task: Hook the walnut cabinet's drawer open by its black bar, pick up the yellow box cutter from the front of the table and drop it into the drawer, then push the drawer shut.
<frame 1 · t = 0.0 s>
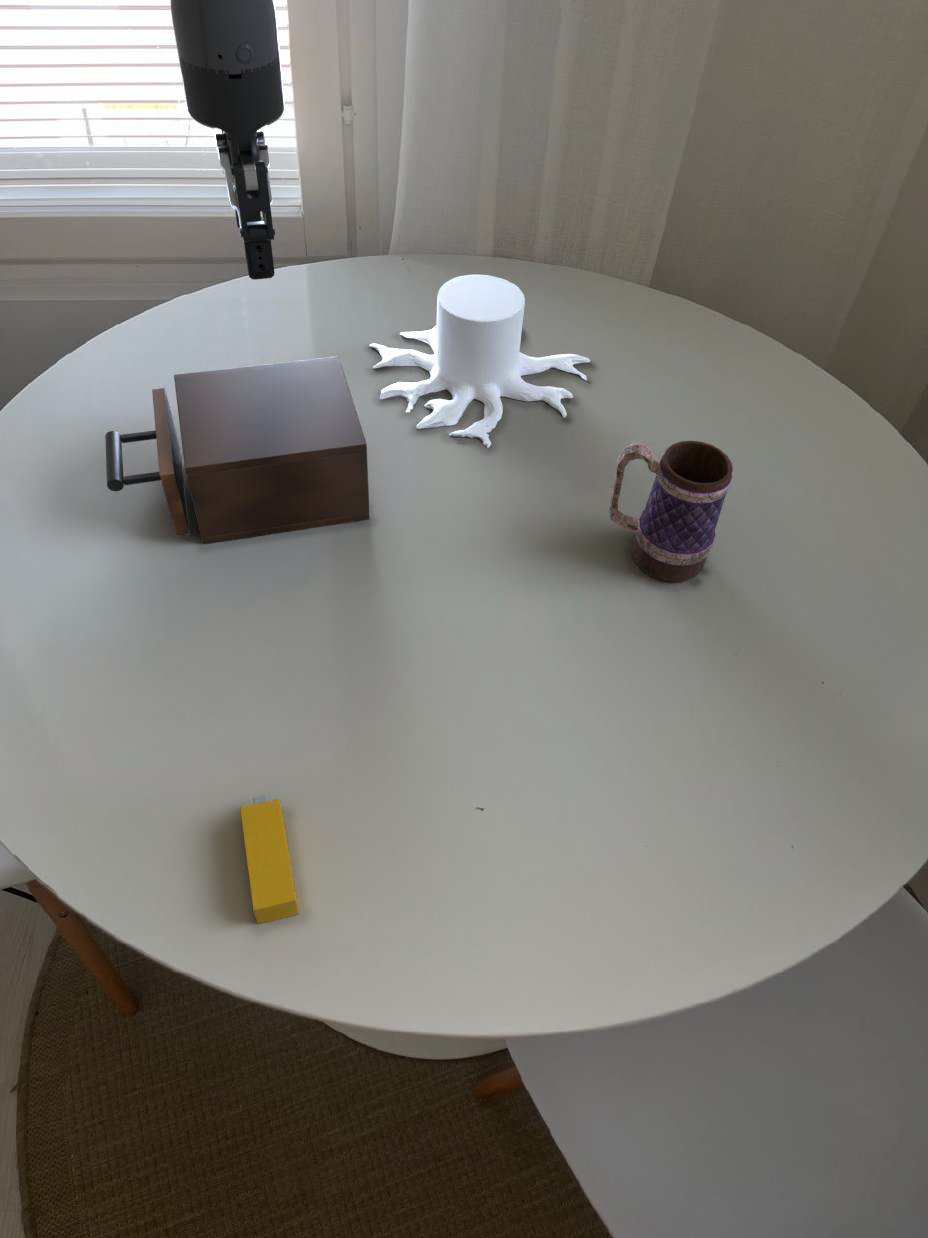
hand: (255, 251, 80), 19 cm above the table, tool pointing down, fingers open, 8 cm apart
drawer: (216, 455, 85), point 5 cm above the table, slide at 1.0 cm
white tree stump: (481, 374, 104), on the table
mug: (650, 554, 86), on the table
box cutter: (270, 867, 64), on the table
cabinet: (278, 484, 90), on the table
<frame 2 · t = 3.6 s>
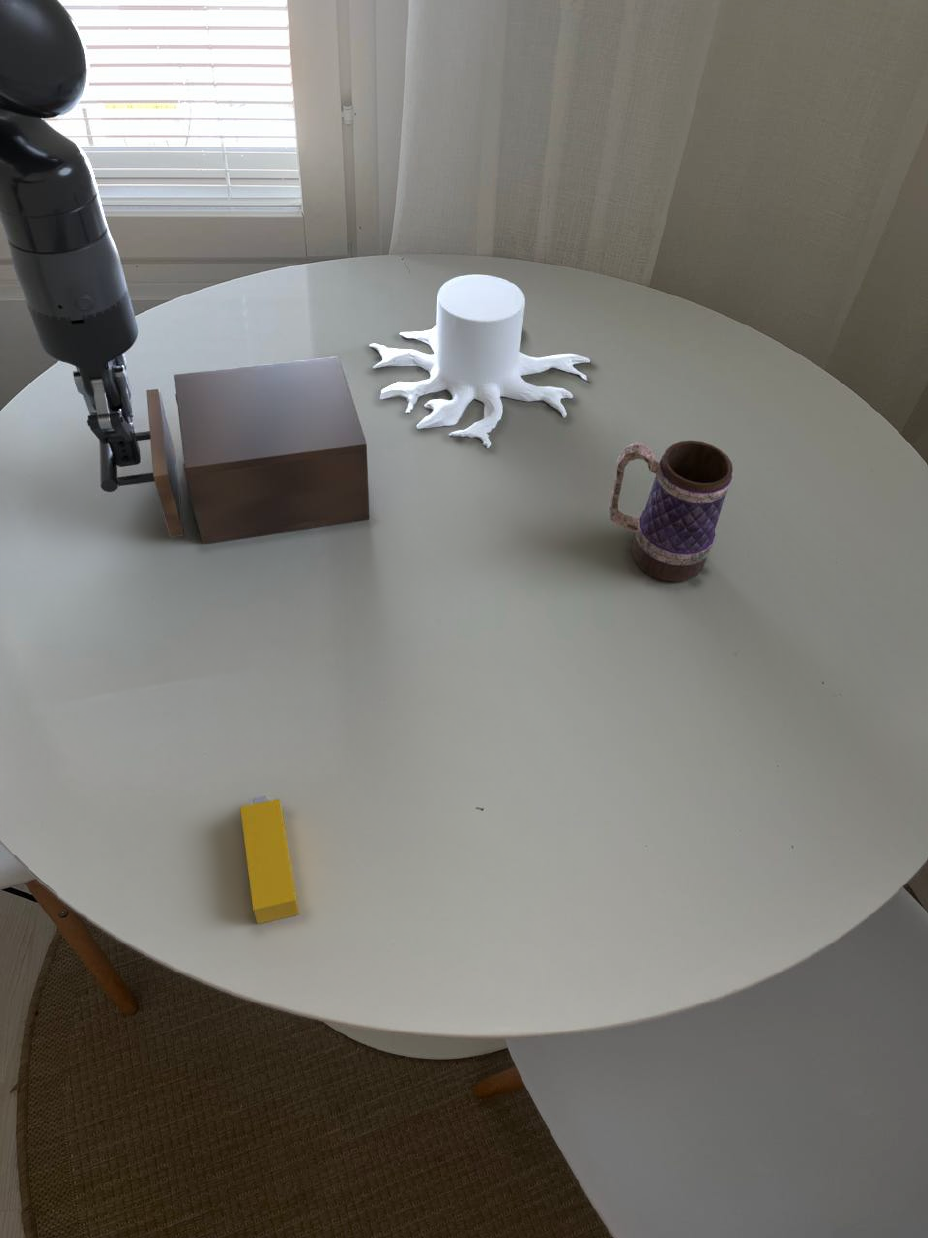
hand: (129, 460, 83), 5 cm above the table, tool pointing down, fingers closed
drawer: (211, 455, 85), point 5 cm above the table, slide at 1.5 cm
everything else where it was.
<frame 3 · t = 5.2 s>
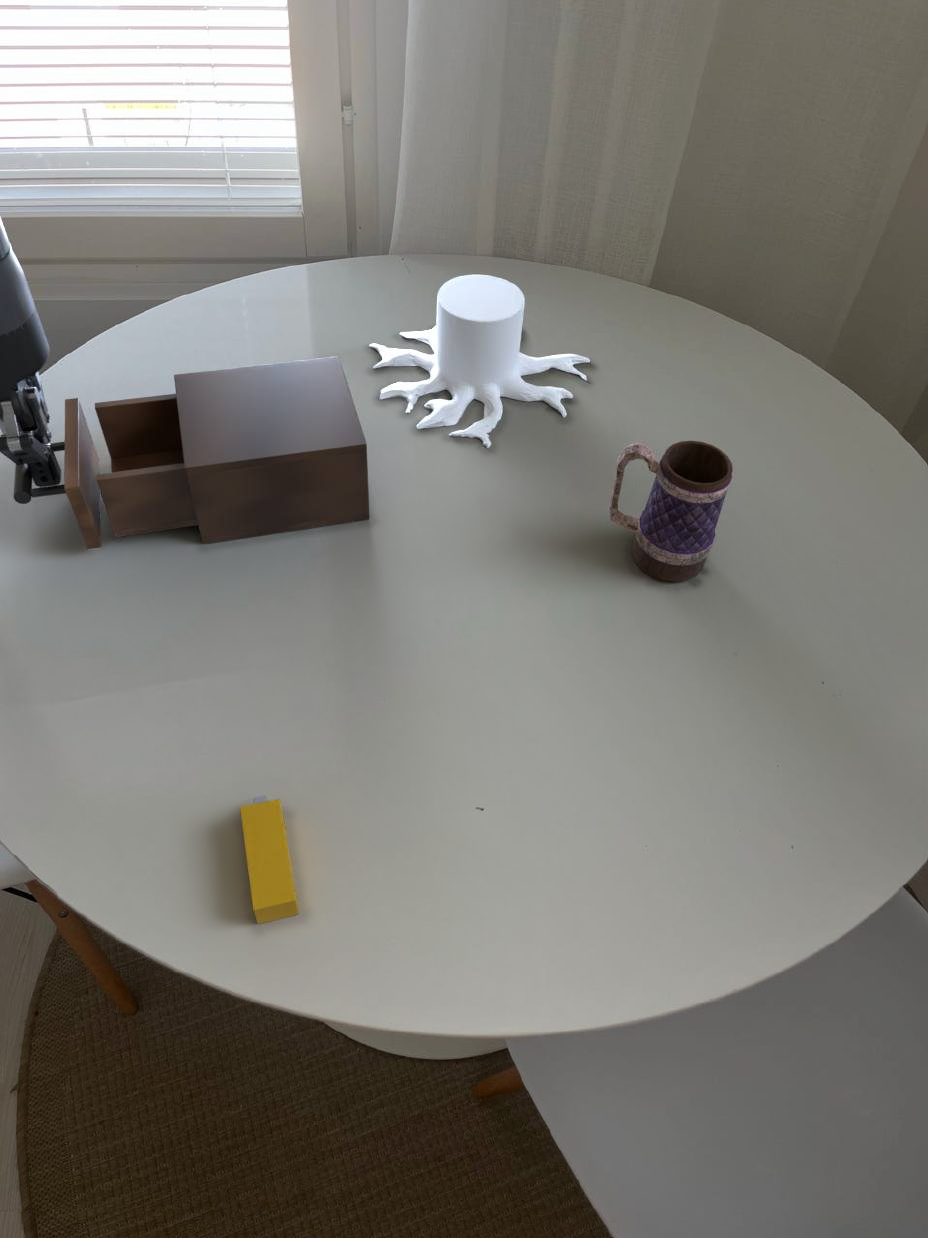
hand: (49, 480, 82), 4 cm above the table, tool pointing down, fingers closed
drawer: (131, 466, 84), point 5 cm above the table, slide at 8.8 cm, touching gripper
everything else where it was.
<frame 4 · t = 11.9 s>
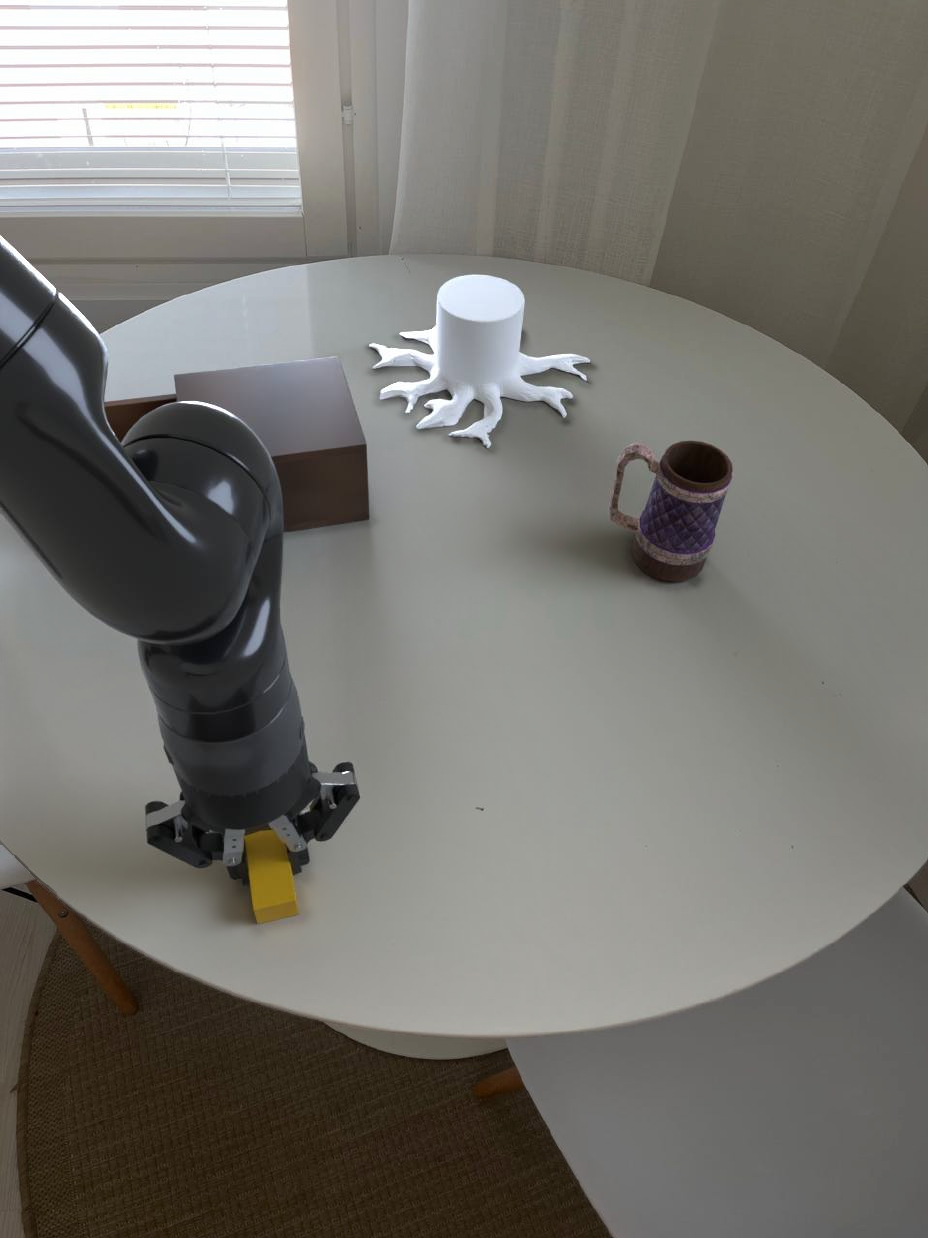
hand: (270, 866, 64), 0 cm above the table, tool pointing down, fingers closed on box cutter, 2 cm apart
drawer: (129, 466, 84), point 5 cm above the table, slide at 8.9 cm
box cutter: (270, 867, 64), on the table, touching gripper
everything else where it was.
when the fingers open (10 cm above the table, at t = 18.4 s): box cutter drops 6 cm, resting on drawer.
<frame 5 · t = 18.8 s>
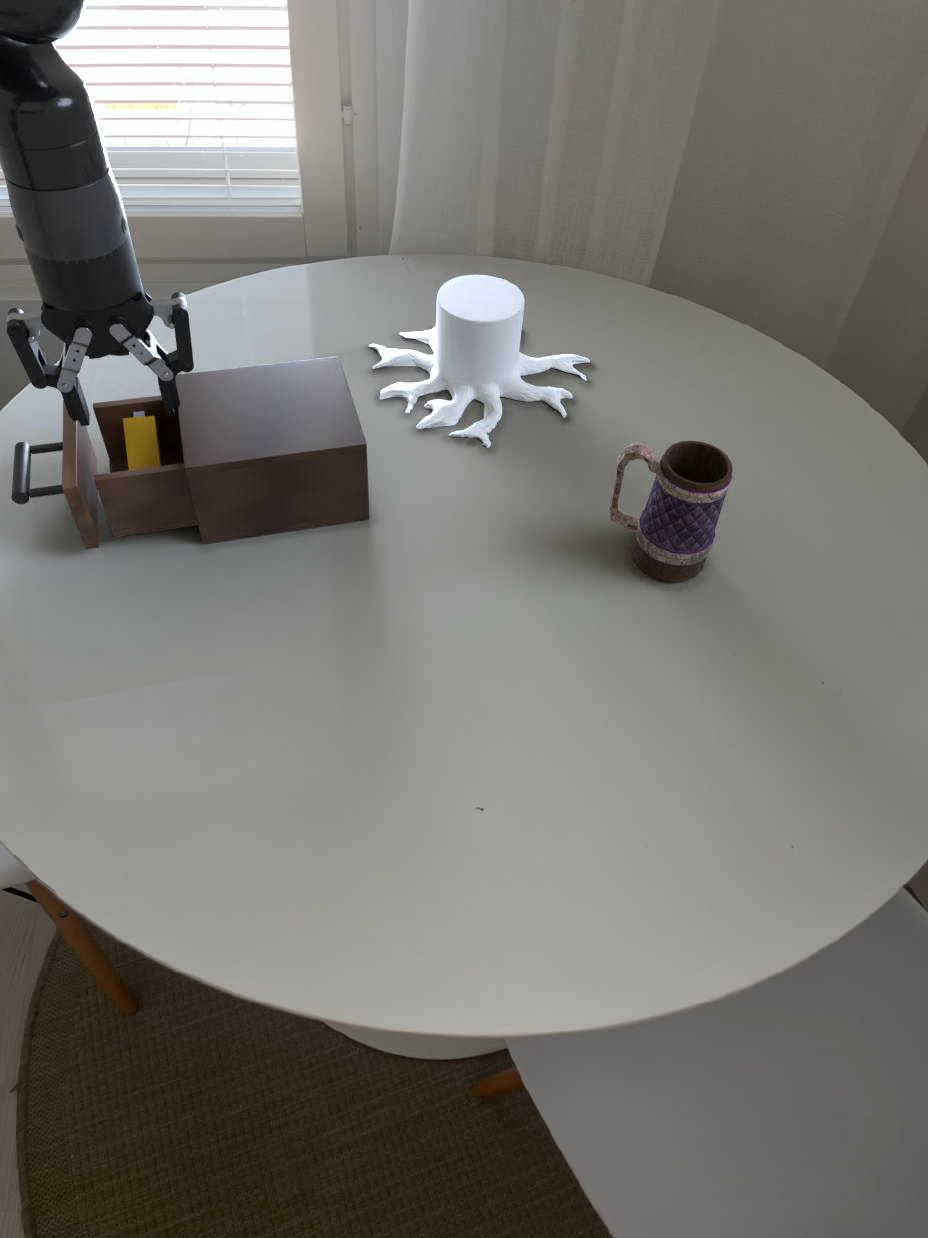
hand: (127, 414, 79), 10 cm above the table, tool pointing down, fingers open, 6 cm apart
drawer: (129, 466, 84), point 5 cm above the table, slide at 8.9 cm, touching box cutter
box cutter: (146, 466, 85), point 4 cm above the table, tilted 25°, touching drawer
everything else where it was.
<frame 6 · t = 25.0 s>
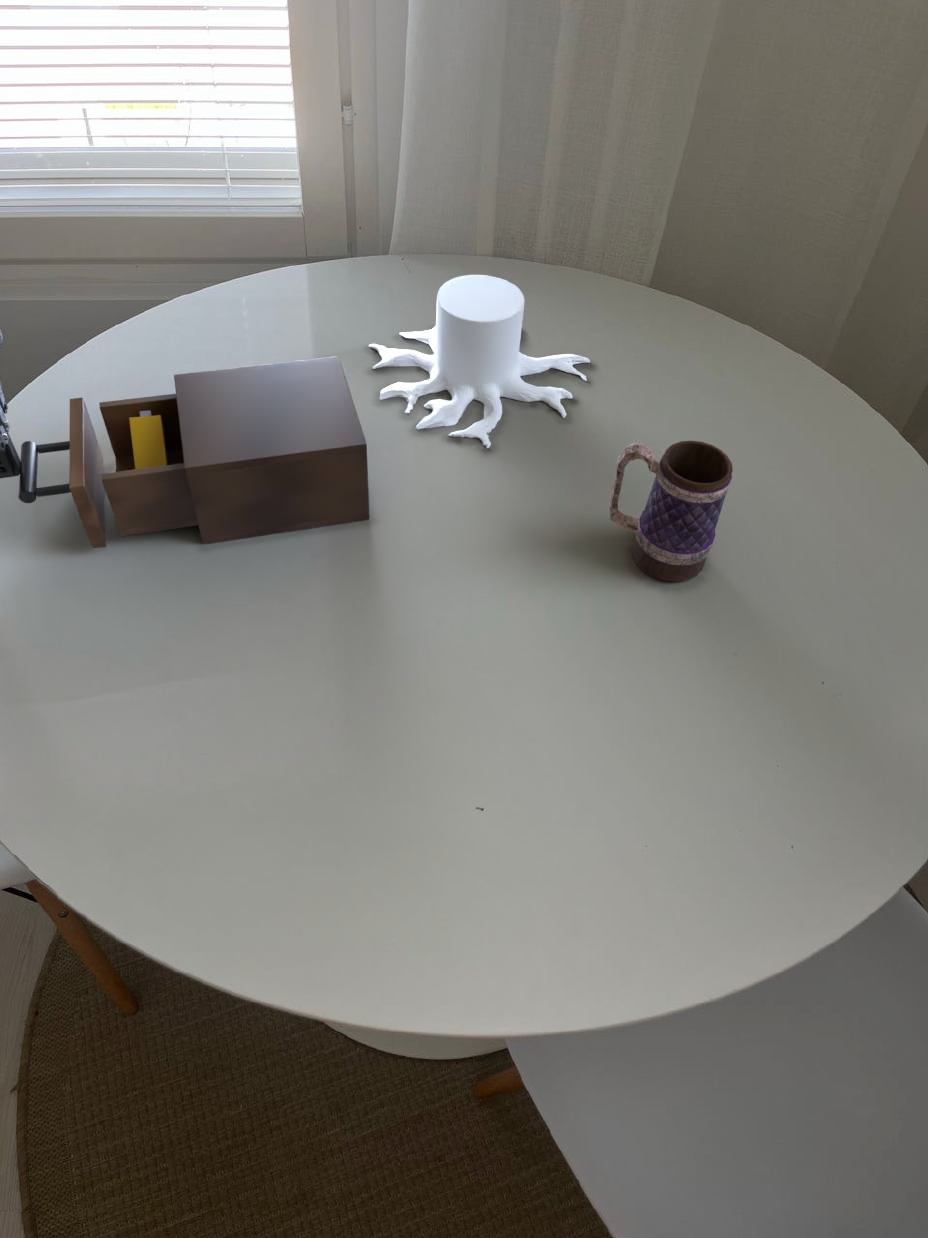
hand: (8, 471, 81), 6 cm above the table, tool pointing down, fingers closed
drawer: (135, 465, 84), point 5 cm above the table, slide at 8.3 cm, touching box cutter
everything else where it was.
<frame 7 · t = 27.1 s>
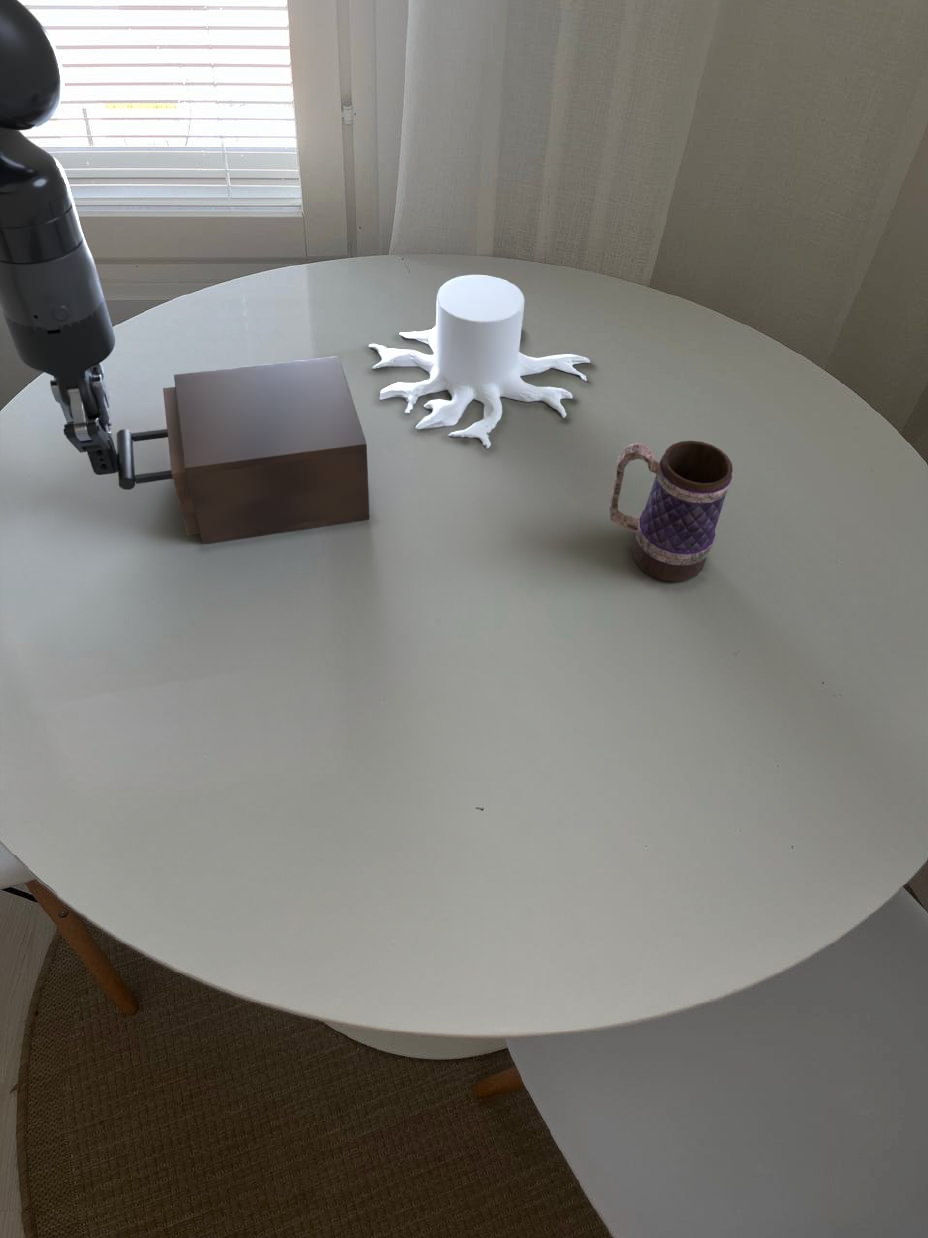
hand: (107, 468, 83), 5 cm above the table, tool pointing down, fingers closed
drawer: (227, 453, 85), point 5 cm above the table, slide at 0.0 cm, touching box cutter
box cutter: (243, 453, 87), point 4 cm above the table, tilted 25°, touching drawer
everything else where it was.
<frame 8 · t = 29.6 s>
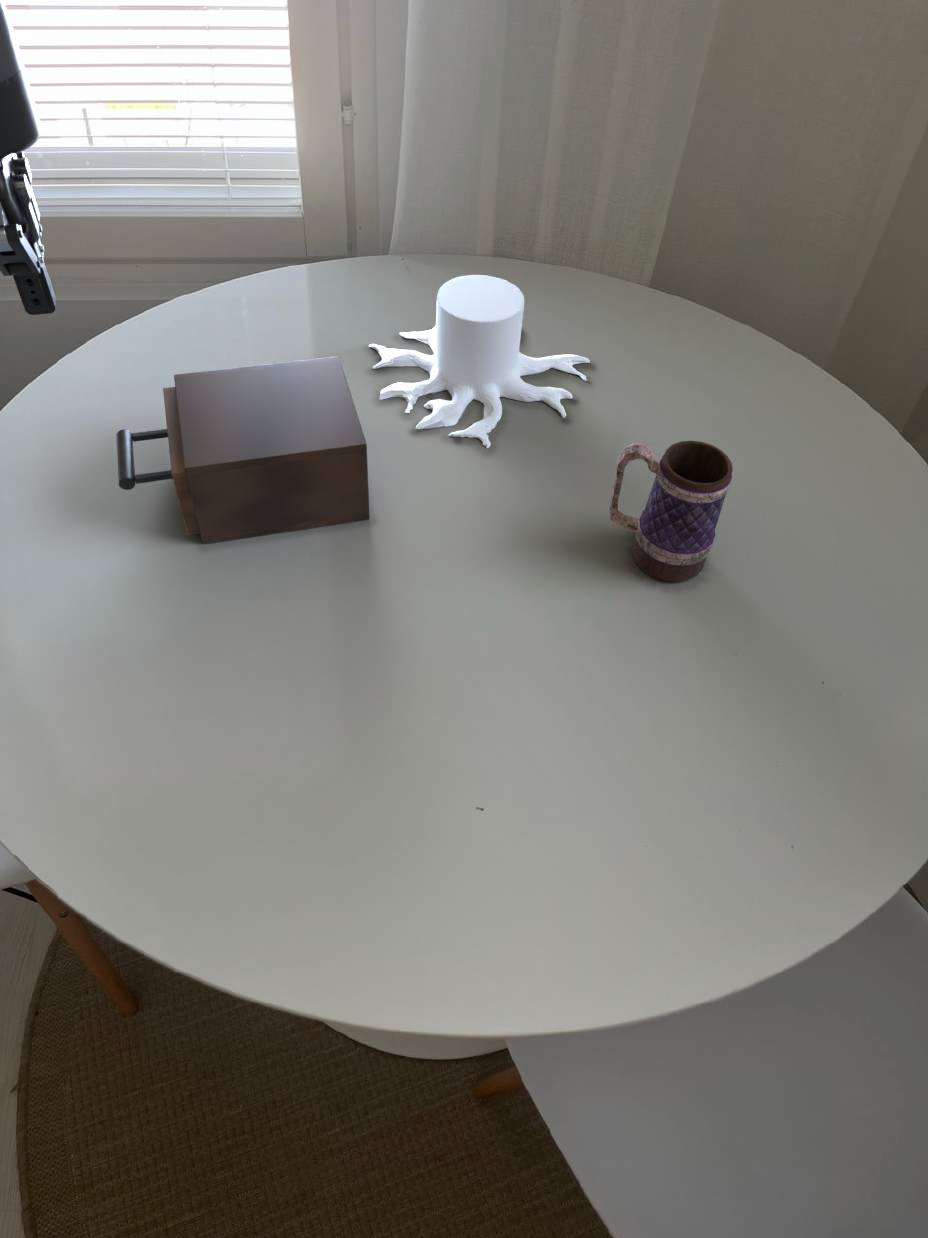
hand: (42, 308, 70), 21 cm above the table, tool pointing down, fingers closed
nothing on the table moved.
at the end: drawer pulled out 8.9 cm at the most during the clip, back to where it started at the end; box cutter inside the target area in the cabinet (2.9 cm from its centre), point 3.8 cm above the cabinet's base; drawer slide at 0.0 cm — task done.
